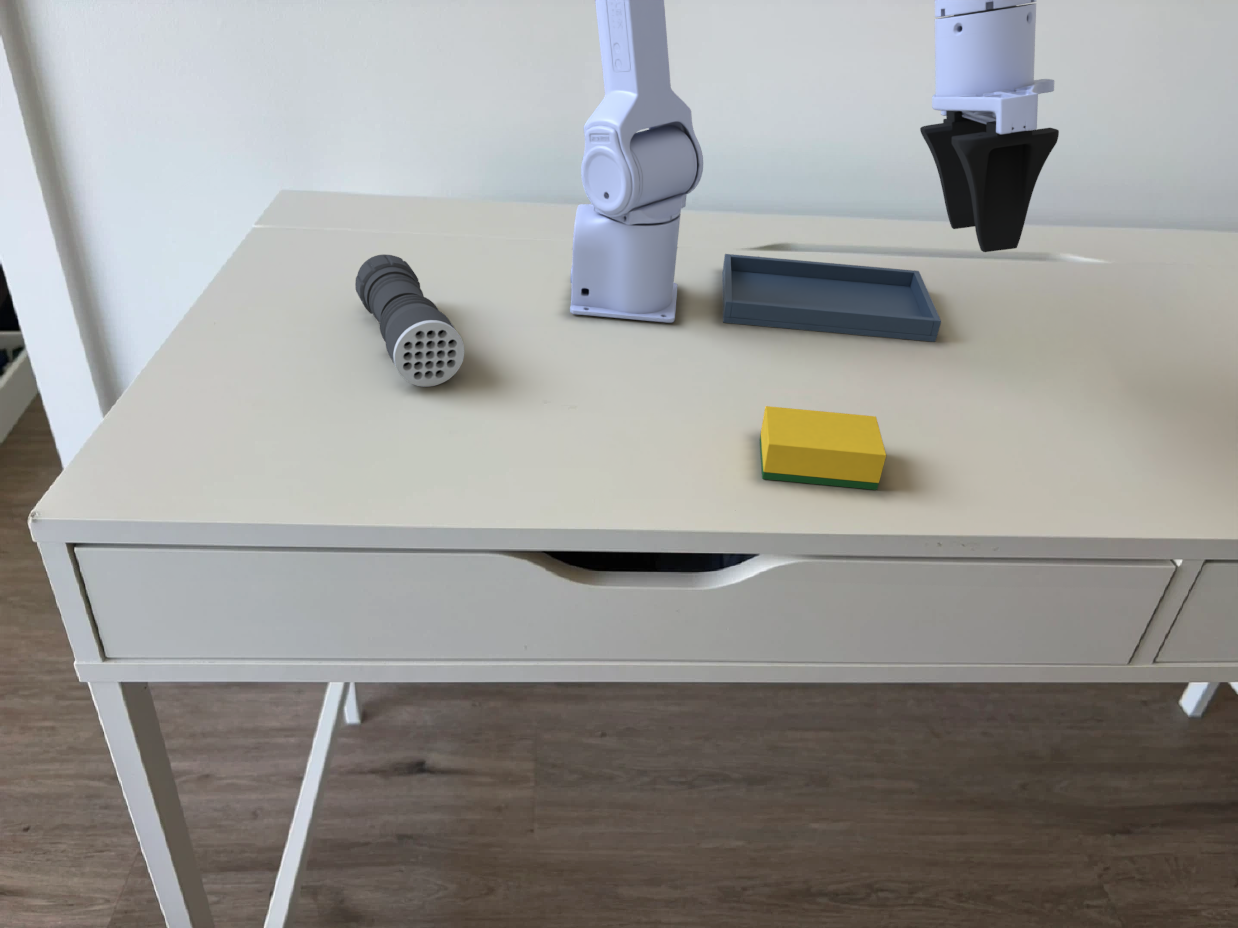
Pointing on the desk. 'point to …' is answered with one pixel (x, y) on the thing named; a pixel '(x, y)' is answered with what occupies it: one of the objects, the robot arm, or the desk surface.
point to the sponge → (821, 448)
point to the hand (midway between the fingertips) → (982, 237)
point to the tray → (828, 298)
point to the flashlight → (409, 322)
